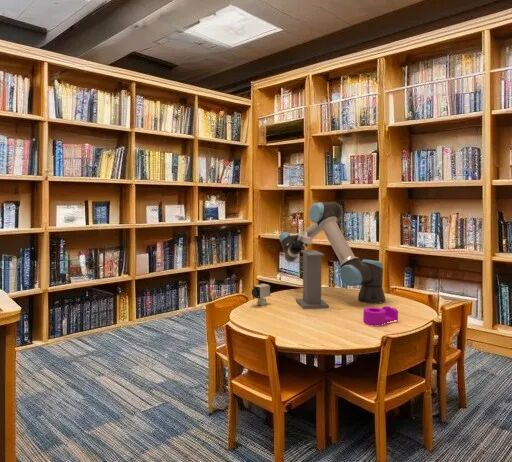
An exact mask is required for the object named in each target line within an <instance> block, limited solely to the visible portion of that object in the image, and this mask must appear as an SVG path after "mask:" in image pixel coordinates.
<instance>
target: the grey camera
mask: <svg viewBox="0 0 512 462" xmlns="http://www.w3.org/2000/svg"><path fill="white" fill-rule="evenodd" d="M272 292H273V289H272V285H271V284H268V283H260V284H256V285H253V286H252V289H251V295H252V298H255V299H257V300H256V304H257V305H258V306H261V307H263V306H266V305H267V299H266V298H267V297H271V293H272Z"/></svg>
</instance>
